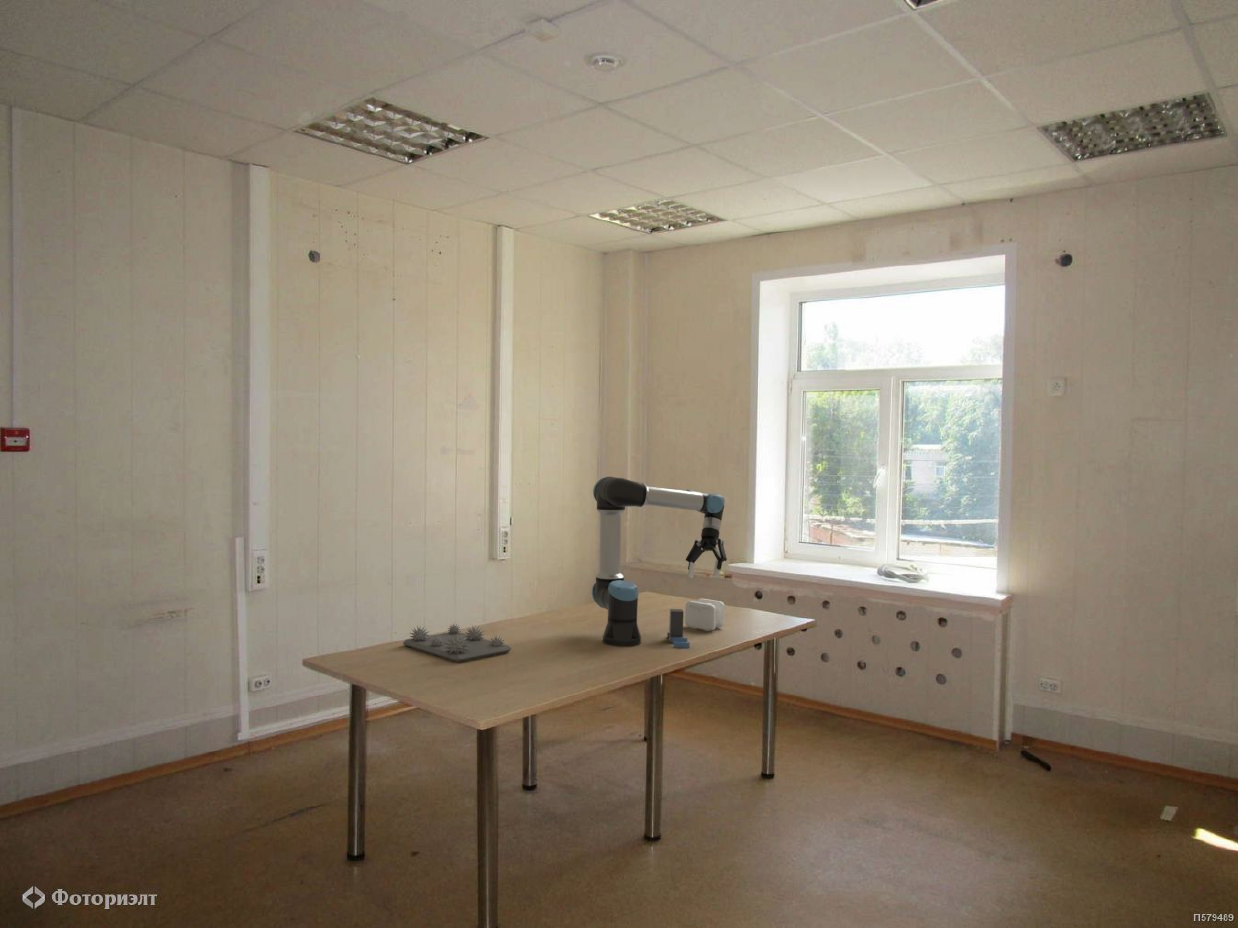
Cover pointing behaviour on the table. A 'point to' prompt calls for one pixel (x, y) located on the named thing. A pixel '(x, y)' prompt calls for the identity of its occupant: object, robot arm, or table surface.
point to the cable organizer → (704, 614)
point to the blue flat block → (680, 642)
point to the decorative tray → (456, 644)
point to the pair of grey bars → (671, 637)
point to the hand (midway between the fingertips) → (702, 577)
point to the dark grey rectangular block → (676, 623)
